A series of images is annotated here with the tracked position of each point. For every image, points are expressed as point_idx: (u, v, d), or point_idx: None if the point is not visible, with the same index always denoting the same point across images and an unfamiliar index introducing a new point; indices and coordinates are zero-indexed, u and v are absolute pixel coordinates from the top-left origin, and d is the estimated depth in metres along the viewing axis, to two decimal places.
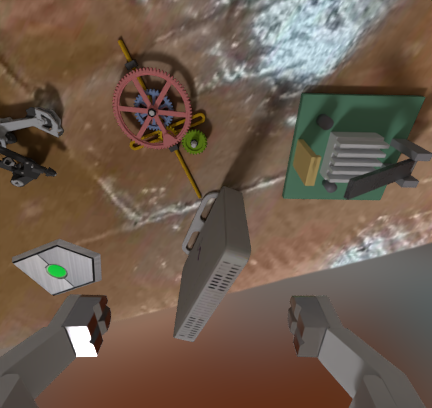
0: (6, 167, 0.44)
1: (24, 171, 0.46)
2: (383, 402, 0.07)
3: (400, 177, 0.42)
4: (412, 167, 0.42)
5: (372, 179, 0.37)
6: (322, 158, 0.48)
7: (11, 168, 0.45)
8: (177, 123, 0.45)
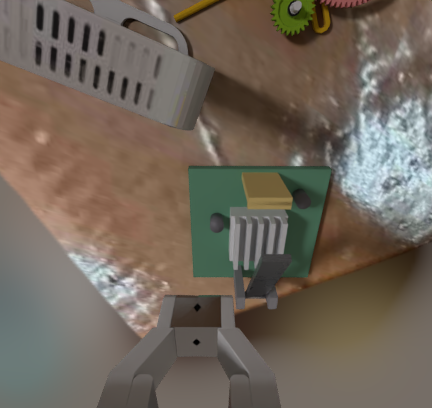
0: None
1: None
2: (241, 402, 0.07)
3: (250, 292, 0.37)
4: (257, 297, 0.39)
5: (274, 274, 0.30)
6: None
7: None
8: None
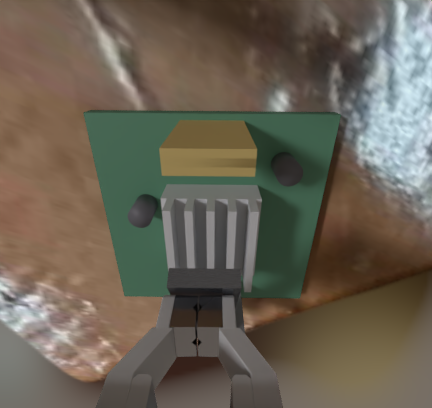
0: None
1: None
2: (242, 402, 0.07)
3: None
4: None
5: None
6: (199, 182, 0.23)
7: None
8: None
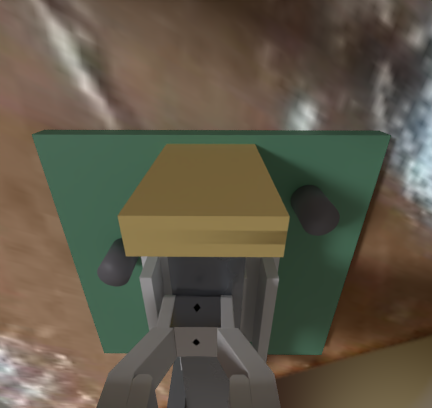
0: None
1: None
2: (240, 402, 0.07)
3: (193, 404, 0.16)
4: None
5: None
6: None
7: None
8: None
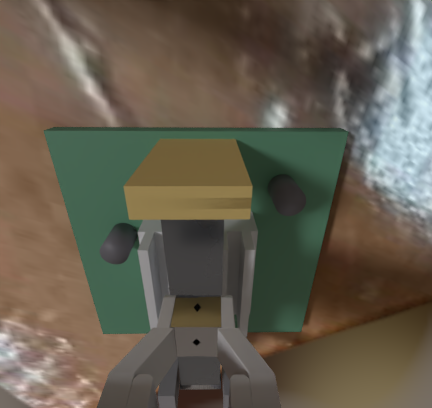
0: None
1: None
2: (241, 402, 0.07)
3: (184, 366, 0.19)
4: (202, 384, 0.20)
5: (207, 282, 0.14)
6: None
7: None
8: None
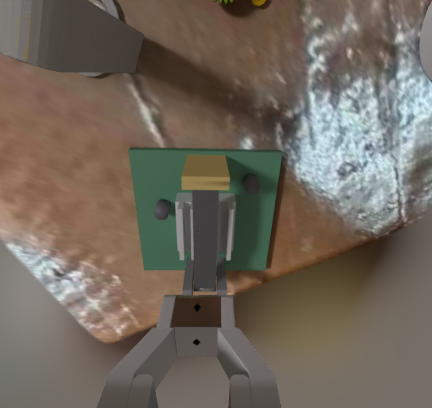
0: None
1: None
2: (241, 402, 0.07)
3: (197, 274, 0.35)
4: (206, 288, 0.36)
5: (210, 222, 0.31)
6: None
7: None
8: None
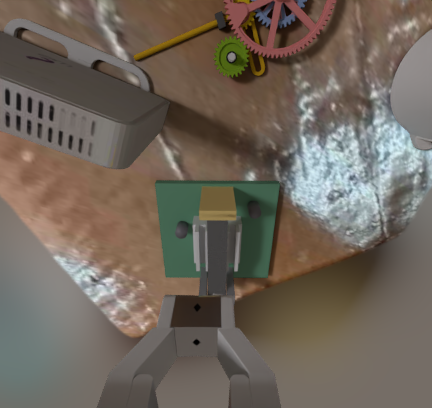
0: None
1: None
2: (241, 402, 0.07)
3: (210, 283, 0.43)
4: (217, 293, 0.44)
5: (221, 243, 0.39)
6: None
7: None
8: (255, 32, 0.32)
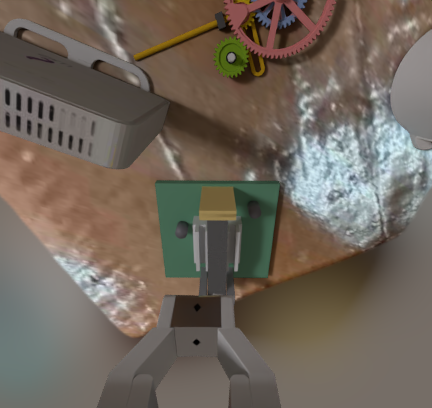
0: None
1: None
2: (241, 402, 0.07)
3: (210, 283, 0.43)
4: (217, 293, 0.44)
5: (221, 243, 0.39)
6: None
7: None
8: (255, 32, 0.32)
